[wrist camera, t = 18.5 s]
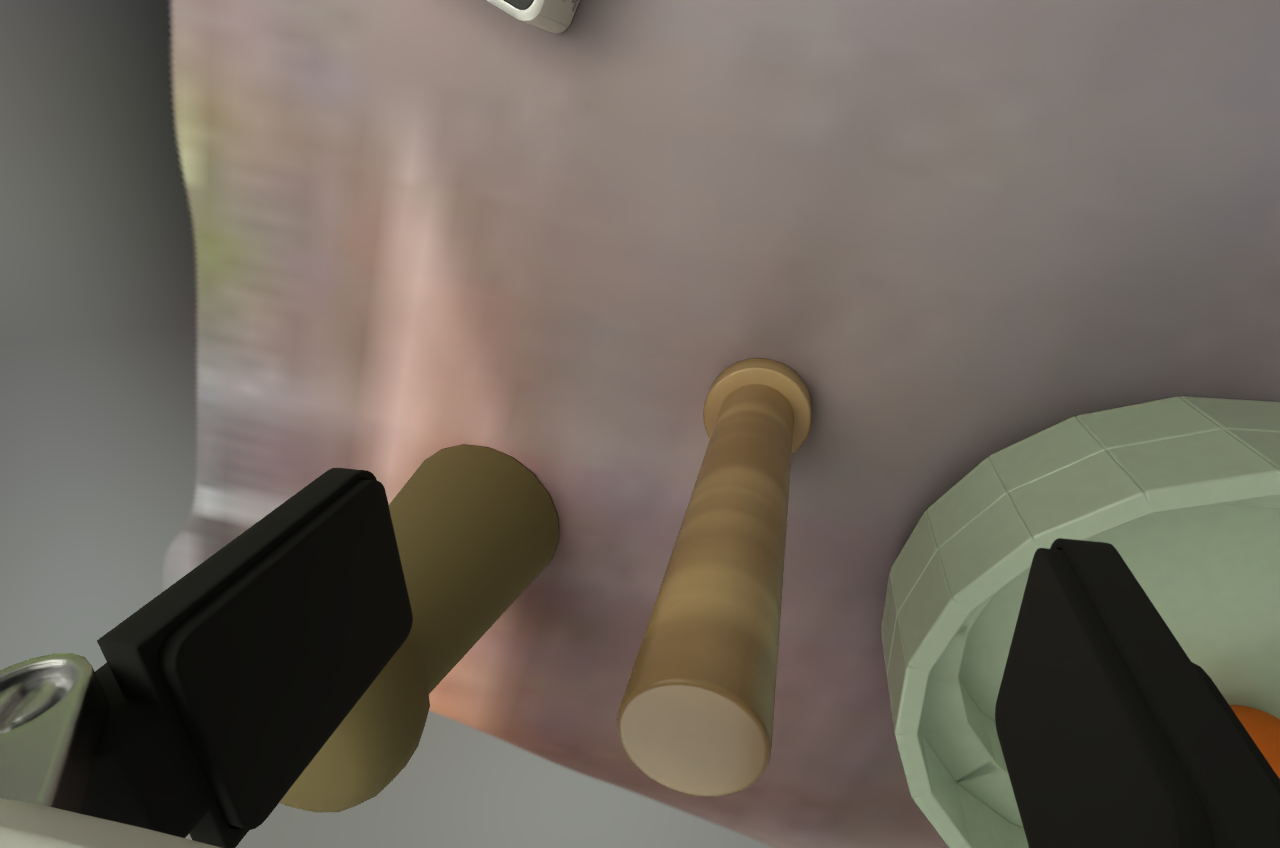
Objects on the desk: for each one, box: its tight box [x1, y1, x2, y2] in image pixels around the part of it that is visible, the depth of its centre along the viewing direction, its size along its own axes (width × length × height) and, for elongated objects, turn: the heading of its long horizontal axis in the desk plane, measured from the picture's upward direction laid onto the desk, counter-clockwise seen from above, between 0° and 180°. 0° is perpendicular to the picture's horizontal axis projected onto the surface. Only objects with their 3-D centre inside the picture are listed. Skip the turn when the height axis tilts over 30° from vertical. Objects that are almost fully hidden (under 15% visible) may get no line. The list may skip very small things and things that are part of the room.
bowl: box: [881, 396, 1280, 848], centre depth 19 cm, size 15×15×5 cm
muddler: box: [617, 358, 811, 797], centre depth 15 cm, size 3×3×13 cm
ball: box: [1230, 705, 1280, 779], centre depth 20 cm, size 3×3×3 cm
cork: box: [280, 445, 559, 812], centre depth 20 cm, size 6×6×11 cm
